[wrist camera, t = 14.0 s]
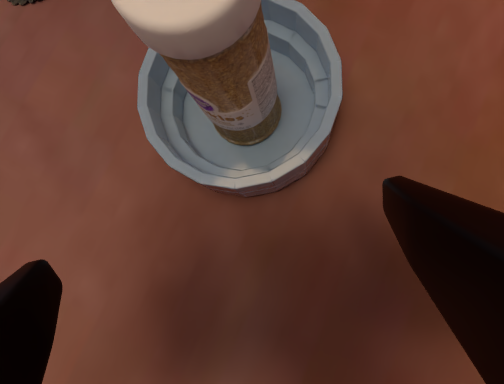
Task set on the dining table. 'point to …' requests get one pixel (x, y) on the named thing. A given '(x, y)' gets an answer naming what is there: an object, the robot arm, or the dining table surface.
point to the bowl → (290, 124)
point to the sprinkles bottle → (215, 59)
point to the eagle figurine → (20, 1)
